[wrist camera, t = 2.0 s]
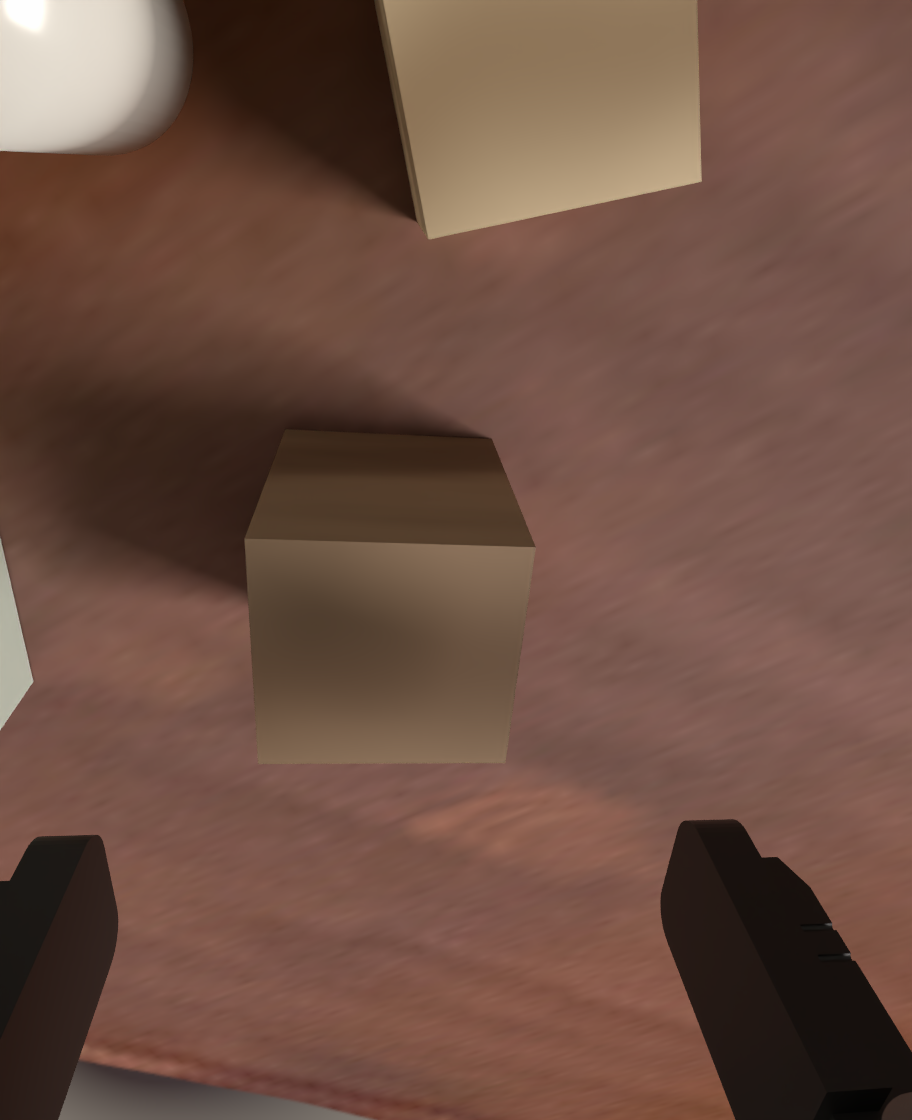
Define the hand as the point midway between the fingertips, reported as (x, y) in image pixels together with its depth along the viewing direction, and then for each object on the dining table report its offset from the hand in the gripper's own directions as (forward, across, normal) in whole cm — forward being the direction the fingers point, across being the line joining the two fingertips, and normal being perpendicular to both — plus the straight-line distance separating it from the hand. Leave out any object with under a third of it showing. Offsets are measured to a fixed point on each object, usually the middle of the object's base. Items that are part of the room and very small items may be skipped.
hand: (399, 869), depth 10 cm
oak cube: (+10, -2, -11) cm, 15 cm away
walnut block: (+10, 0, -1) cm, 10 cm away
